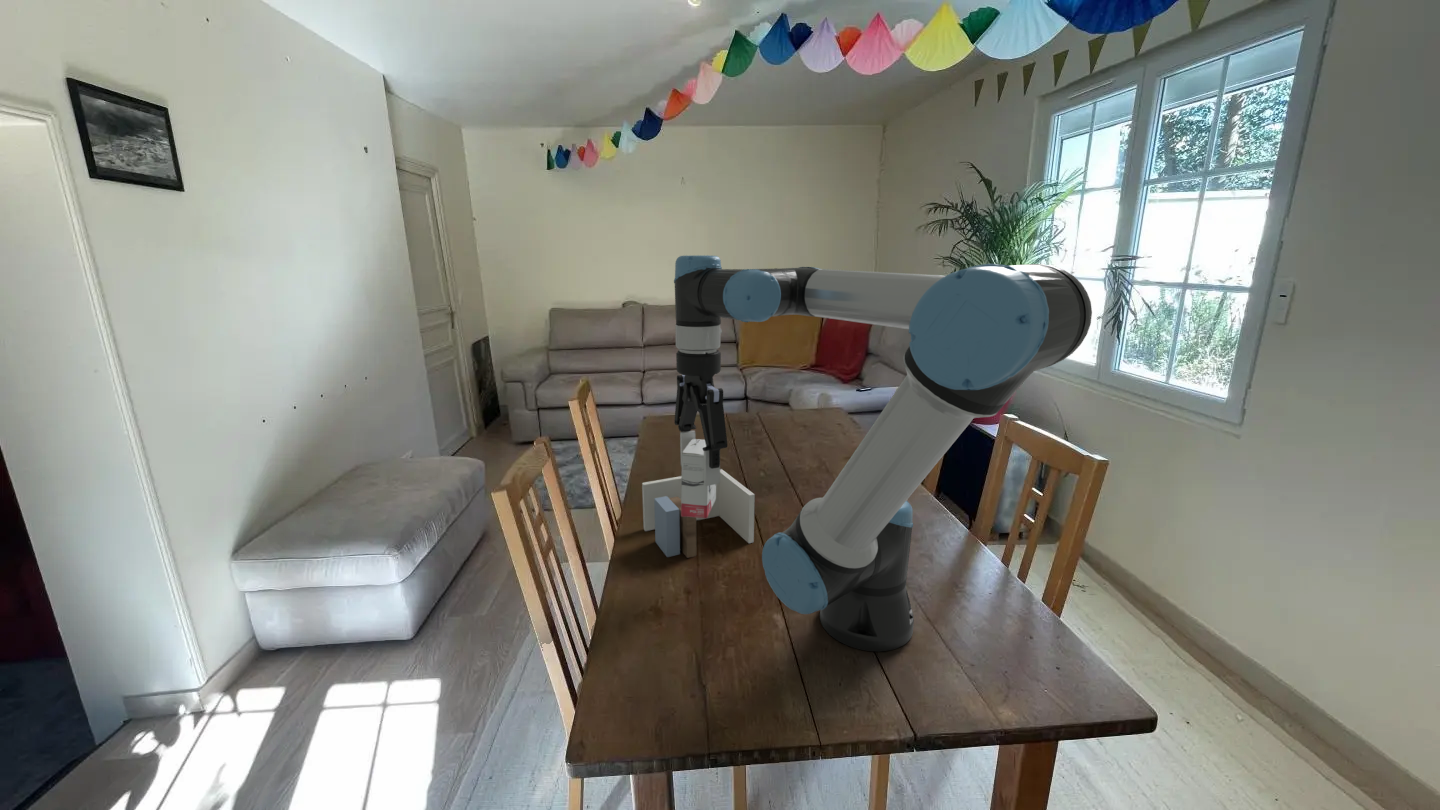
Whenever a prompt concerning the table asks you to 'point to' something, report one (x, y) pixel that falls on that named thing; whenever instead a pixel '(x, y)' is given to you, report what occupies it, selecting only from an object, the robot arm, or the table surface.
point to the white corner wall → (664, 517)
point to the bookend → (686, 531)
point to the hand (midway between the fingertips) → (699, 474)
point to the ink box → (695, 482)
